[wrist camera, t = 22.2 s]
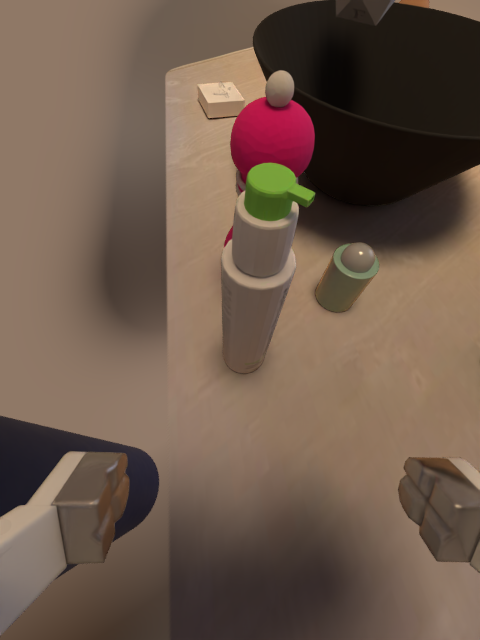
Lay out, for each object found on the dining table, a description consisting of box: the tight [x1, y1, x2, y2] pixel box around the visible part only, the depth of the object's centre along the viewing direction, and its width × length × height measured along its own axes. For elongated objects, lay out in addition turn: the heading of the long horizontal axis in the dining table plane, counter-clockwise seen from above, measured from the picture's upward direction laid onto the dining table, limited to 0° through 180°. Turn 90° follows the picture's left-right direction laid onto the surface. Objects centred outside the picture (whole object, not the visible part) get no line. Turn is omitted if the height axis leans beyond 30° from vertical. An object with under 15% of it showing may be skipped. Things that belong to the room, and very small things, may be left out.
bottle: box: [221, 163, 315, 374], centre depth 20 cm, size 4×4×20 cm
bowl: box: [253, 0, 480, 205], centre depth 38 cm, size 36×36×15 cm
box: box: [197, 82, 245, 118], centre depth 54 cm, size 20×11×3 cm, turn 109°
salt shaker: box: [315, 242, 379, 312], centre depth 29 cm, size 5×5×8 cm
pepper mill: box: [224, 70, 315, 248], centre depth 25 cm, size 7×7×20 cm
